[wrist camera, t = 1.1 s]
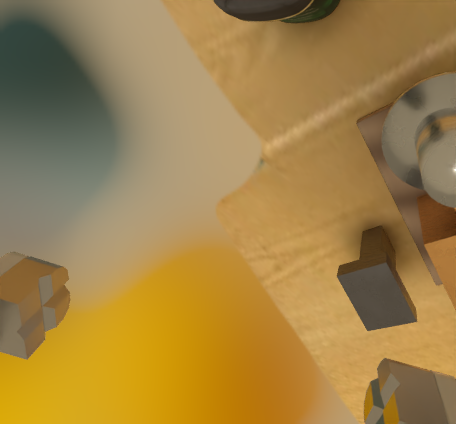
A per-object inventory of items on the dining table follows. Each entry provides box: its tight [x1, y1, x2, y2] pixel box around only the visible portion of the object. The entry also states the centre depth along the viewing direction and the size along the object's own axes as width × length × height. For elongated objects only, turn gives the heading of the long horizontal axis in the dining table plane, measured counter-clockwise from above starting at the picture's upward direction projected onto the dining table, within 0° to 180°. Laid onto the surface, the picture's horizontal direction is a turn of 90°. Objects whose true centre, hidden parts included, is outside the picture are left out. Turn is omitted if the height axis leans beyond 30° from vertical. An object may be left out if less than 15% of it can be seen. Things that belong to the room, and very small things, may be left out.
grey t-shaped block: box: [337, 225, 417, 331], centre depth 42 cm, size 7×5×12 cm
